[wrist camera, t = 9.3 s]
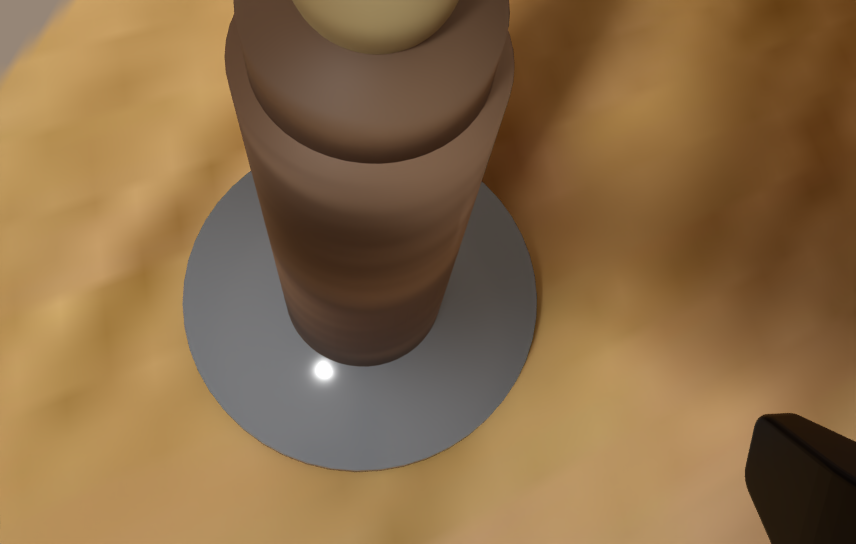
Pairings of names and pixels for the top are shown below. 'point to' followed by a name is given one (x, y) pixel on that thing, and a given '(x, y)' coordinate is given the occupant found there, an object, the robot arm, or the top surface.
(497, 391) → the slate coaster
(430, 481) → the top surface
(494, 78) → the pepper mill
